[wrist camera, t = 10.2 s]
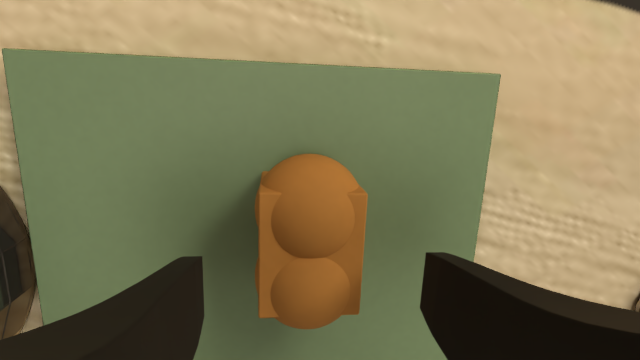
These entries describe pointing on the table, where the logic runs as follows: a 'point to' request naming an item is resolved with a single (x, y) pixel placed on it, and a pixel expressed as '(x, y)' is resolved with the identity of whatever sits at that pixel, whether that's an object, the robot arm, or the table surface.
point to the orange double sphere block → (309, 241)
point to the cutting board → (243, 183)
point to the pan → (14, 270)
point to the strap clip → (638, 306)
